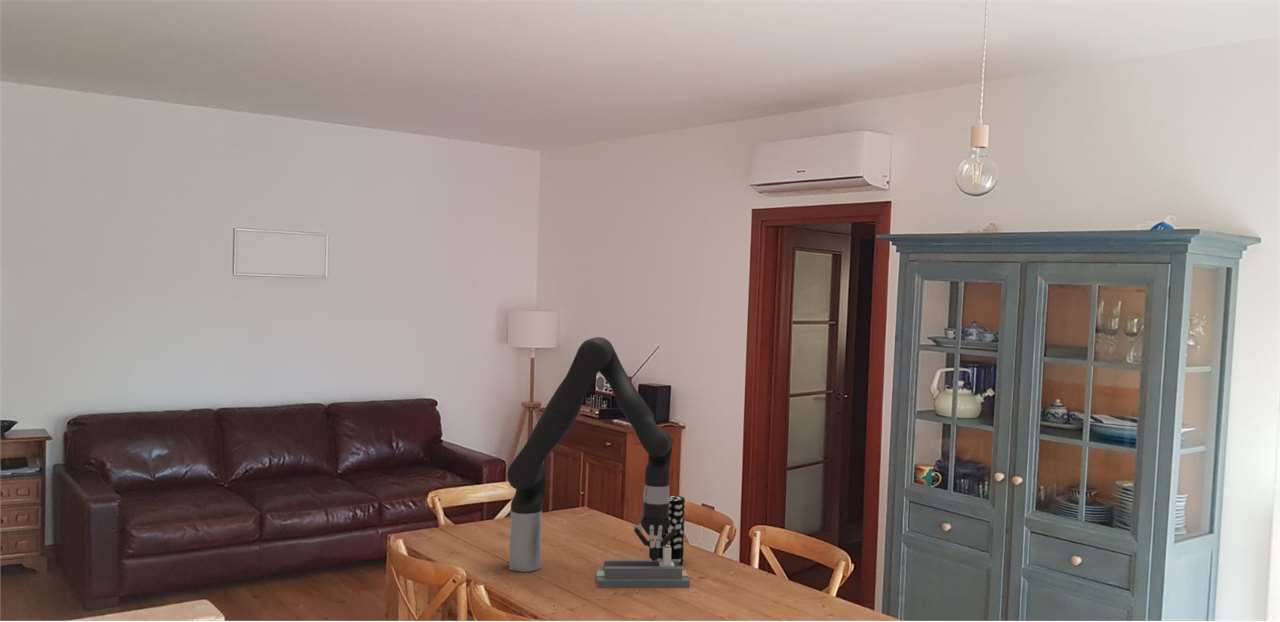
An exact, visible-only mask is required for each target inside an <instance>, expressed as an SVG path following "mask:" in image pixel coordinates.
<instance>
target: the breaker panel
mask: <svg viewBox="0 0 1280 622" xmlns="http://www.w3.org/2000/svg"><path fill="white" fill-rule="evenodd" d="M659 562H663V559H657V561H652V560H651V559H649V558H648V559H646V558H645V559H643V558H641V559H640V558H639V559H637V558H636V559H635V558H633V559H632V558H631V559H629V558H628V559H627V558H626V559H623V558H621V559H616V558H615V559H611V558H610V559H607V558H606V559H603V563H602V564H603V567H596V568H595V572H596V573H595V574H596V577H595V578H596V585H597V589H611V588H612V589H618V588H619V589H622V588H623V589H624V588H625V589H641V588H643V589H649V588H651V589H655V588H656V589H663V588H664V589H665V588H667V589H669V588H670V589H675V588H676V589H677V588H678V589H679V588H681V589H683V588H685V589H689V588H690V587H691V586H690V585H691V583H690V578H689V575H688V573H687V570H686V568H685V567H683V566H682V565H680V566H679V559H671V562H673V563H674V566H659Z"/></svg>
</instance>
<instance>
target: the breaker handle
mask: <svg viewBox="0 0 1280 622" xmlns="http://www.w3.org/2000/svg"><path fill="white" fill-rule="evenodd" d="M659 566H674V563H673V562H671V546H670V545H666V546H663V562H659Z"/></svg>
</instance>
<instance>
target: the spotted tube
mask: <svg viewBox="0 0 1280 622" xmlns="http://www.w3.org/2000/svg"><path fill="white" fill-rule="evenodd" d="M685 499H686V498H685V497H684V496H680V495H673V494H672V495H671V494H670V498H669V521H670V525H672V526H673V527H675V528H676V530H677V533H676V534H675V535H674V536H673V537H672V539H671V540H670V541H669V542H668V543H667V545H670V546H671V559H679V566H683V564H684V552H685V551H684V550H685V549H684V546H685V545H684V542H685V510H686V508H685V501H686V500H685ZM668 529H669V528H668ZM668 529H667V530H666V531H665V533H664V534H663V535H662V536H661V541H662V540H663V539H664V537H665V536H666V535H667V534H668ZM659 559H663V546H662V547H660V552H659Z"/></svg>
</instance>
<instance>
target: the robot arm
mask: <svg viewBox="0 0 1280 622" xmlns="http://www.w3.org/2000/svg"><path fill="white" fill-rule="evenodd" d="M598 373H600V374H601V375H602V376H603V377H604V379H605V380H606V382H607V384H608V386H609V387H610V389H611V390H612V393H613V396H614V398H615V401H616V403H617V405H618V407H619V409H620V410H621V412H622V413H623V415H624V417H625V418H626V420H627V421H628V423H629V424H630V426H631V427H632V428H633V429H634V432H635V434H636V436H637V439H638V440H639V443H640V444H641V445H642V448H643V449H644V451H646V453H647V454H648V457H647V459H648V460H647V464H646V467H645V473H644V487H643V496H642V500H643V504H642V518H641V521H640V523H639V524H638V525H637V526H633V531H634V533H635V534H636V536H637V537H638V538H639V540H640V541H641V542H642V544H643V545H644V546H646V547H648V548H649V550H648V557H649V558H650V559H651V560H652V561H657V559H659V552H660V547H662V546H666V545H667V543H668V542H669V541H670V540H671V539H672V537H673V536H674V535H675V534H676V533H677V530H676V528H675V527H673V526H672V525H670V521H669V498H670V495H671V494H670V465H671V461H672V460H671V458H672V454H673V453H672V452H673V439H672V436H671V435H670V433H669V432H668V431H666V430H665V429H660V427H659V426H658V424H657V423H656V421H655V417H654V414H653V412H652V410H651V409H650V407H649V406H648V404H647V402H645V400H644V399H643V397H642V396H641V395H640V393H639V392H638V390H637V388H636V387H635V386H634V383H632V381H631V379H630V378H629V376H628V374H627V372H626V371H625V369H624V366H623V365H622V363H621V361H620V359H619V357H618V354H617V352H616V351H615V348H614V346H613V344H612V343H611V342H610V341H609V340H608V338H604V337H601V336H600V337H599V336H597V337H591V338H588V339H586V340H585V341H583V342H581V345H580V346H579V347H578V349H577V351H576V354H575V356H574V358H573V361H572V363H571V365H570V367H569V369H568V371H567V373H566V375H565V377H564V379H563V380H562V381H561V383H560V384H559V386H558V387H557V389H556V390H555V392H554V393H553V395H552V396H551V398H550V400H549V401H548V403H547V404H546V405H545V407H544V410H543V411H542V414H541V416H540V418H539V419H538V421H537V422H536V424H535V426H534V428H533V430H532V432H531V434H530V435H529V437H528V440H527V441H526V443H525V444H524V446H523V447H522V449H521V450H520V451H519V452H518V454H517V455H516V457H515V458H514V459H513V461H512V462H511V463H510V465H509V467H508V468H507V480H508V483H509V485H510V486H511V487H512V488H513V489H515V493H514V497H513V498H512V499H511V502H510V529H509V531H510V535H509V551H508V552H509V559H508V570H509V571H515V572H520V573H521V572H523V573H525V572H527V573H528V572H534V571H538V570H539V569H541V567H542V566H541V565H542V564H541V563H542V524H543V523H542V522H543V521H542V519H543V517H542V515H543V504H544V501H545V494H546V467H545V464H544V462H545V460H546V458H547V456H549V454H550V453H551V451H552V450H553V449H554V448H555V447H556V445H557V444H559V443H560V442H561V440H562V439H563V438H564V437H565V436H566V434H567V433H568V432H569V430H570V429H571V428H572V425H573V424H574V422H575V420H576V419H577V417H578V416H579V415H578V414H580V412H581V409H582V406H583V402H584V399H585V395H586V392H587V391H588V389H589V386H590V385H591V383H592V382H593V381H594V379H595V377H596V376H597V375H598ZM668 528H669V529H668ZM667 529H668V534H667V535H666V536H665V537H664V539H663V540H662V541H661V536H662V535H663V534H664V533H665V531H666V530H667ZM643 530H644V531H645V533H646V535H648V539H647V538H646V537H645V536H644V534H643Z"/></svg>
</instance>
